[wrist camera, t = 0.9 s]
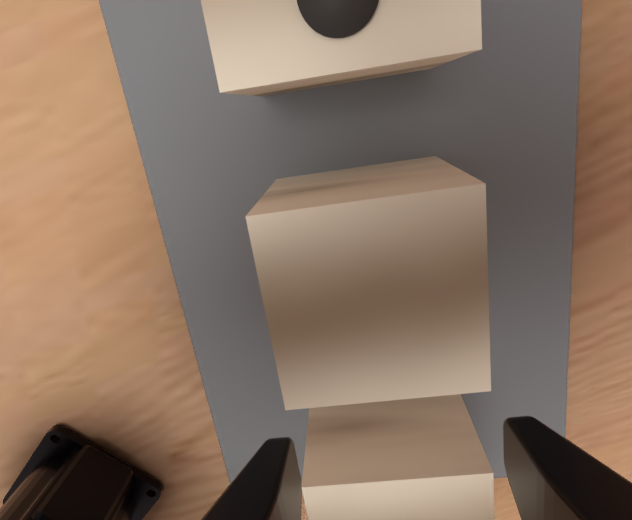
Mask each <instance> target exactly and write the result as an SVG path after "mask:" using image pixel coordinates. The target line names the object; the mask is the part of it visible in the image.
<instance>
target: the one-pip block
mask: <svg viewBox="0 0 632 520" xmlns="http://www.w3.org/2000/svg"><path fill="white" fill-rule="evenodd" d="M302 493H303V498H304V503H305V507H306V512H307V517H308V520H495V516H494V478H493V471H492V468H491V466H490V464H489V461H488V459H487V456H486V454H485V452H484V449H483V447H482V444H481V442H480V440H479V437H478V435H477V432H476V430H475V428H474V425H473V423H472V420H471V418H470V416H469V413H468V411H467V408H466V406H465V404H464V401H463V399H462V396H461V394H456V395H445V396H434V397H423V398H413V399H402V400H391V401H381V402H370V403H359V404H348V405H338V406H327V407H316V408H309V416H308V426H307V436H306V446H305V456H304V466H303V476H302Z"/></svg>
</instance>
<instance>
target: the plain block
mask: <svg viewBox="0 0 632 520" xmlns="http://www.w3.org/2000/svg"><path fill="white" fill-rule="evenodd" d="M245 217H246V222H247V227H248V232H249V237H250V241H251V246H252V251H253V256H254V261H255V266H256V270H257V275H258V280H259V285H260V290H261V295H262V299H263V304H264V309H265V314H266V319H267V324H268V329H269V333H270V338H271V343H272V348H273V353H274V358H275V362H276V367H277V372H278V377H279V382H280V387H281V391H282V396H283V401H284V406H285V410H295V409H305V408H316V407H327V406H338V405H348V404H359V403H370V402H381V401H391V400H402V399H413V398H423V397H434V396H445V395H456V394H466V393H477V392H488V391H491V365H490V327H489V290H488V252H487V215H486V183H484V182H482V181H480V180H479V179H477V178H475V177H473V176H471V175H469V174H468V173H466V172H464V171H462V170H460V169H458V168H457V167H455V166H453V165H451V164H449V163H448V162H446V161H444V160H442V159H440V158H438V157H437V156H432V157H425V158H418V159H411V160H404V161H397V162H390V163H383V164H376V165H369V166H362V167H355V168H349V169H342V170H335V171H328V172H321V173H314V174H307V175H300V176H293V177H286V178H279V179H276V180H275V182H274V183H273V184H272V185H271V186H270V187H269V189H268V190H267V191H266V192H265V193H264V195H263V196H262V197H261V198H260V199H259V201H258V202H257V203H256V204H255V205H254V207H253V208H252V209H251V210H250V211H249V213H248V214H247V215H246V216H245Z"/></svg>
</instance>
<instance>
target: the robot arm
mask: <svg viewBox="0 0 632 520" xmlns="http://www.w3.org/2000/svg"><path fill="white" fill-rule="evenodd" d="M503 451H504V466H505V471H506V475H507V478H508V481H509V484H510V487H511V490H512V493H513V496H514V499H515V502H516V504H517V507H518V510H519V513H520V516H521V519H522V520H632V483H631V482H630V481H628V480H627V479H625V478H624V477H622V476H621V475H619V474H618V473H616V472H615V471H613V470H612V469H610V468H609V467H607V466H606V465H605V464H603V463H602V462H600V461H599V460H597V459H596V458H594V457H593V456H591V455H590V454H588V453H587V452H585V451H584V450H582V449H581V448H579V447H578V446H576V445H575V444H573V443H572V442H570V441H569V440H567V439H566V438H564V437H563V436H561V435H560V434H558V433H557V432H555V431H554V430H552V429H551V428H549V427H548V426H546V425H545V424H544V423H542V422H541V421H539V420H538V419H536V418H534V417H532V416H520V417H509V418H507V419H505V420H504V424H503ZM162 491H163V485H162V484H161V483H160V482H159V481H157V480H155V479H154V478H152V477H150V476H148V475H147V474H145V473H143V472H141V471H140V470H138V469H136V468H135V467H133V466H131V465H129V464H128V463H126V462H124V461H122V460H121V459H119V458H117V457H115V456H114V455H112V454H110V453H108V452H107V451H105V450H103V449H101V448H100V447H98V446H96V445H95V444H93V443H91V442H89V441H88V440H86V439H84V438H82V437H81V436H79V435H77V434H75V433H74V432H72V431H70V430H68V429H67V428H65V427H63V426H59V425H56V426H53V427H52V428H51V429H50V430H49V431H48V432H47V434H46V435H45V437H44V438H43V440H42V441H41V443H40V444H39V446H38V447H37V449H36V450H35V452H34V453H33V455H32V456H31V458H30V460H29V461H28V463H27V464H26V466H25V467H24V469H23V470H22V472H21V473H20V475H19V476H18V478H17V479H16V481H15V482H14V484H13V486H12V487H11V489H10V490H9V492H8V493H7V495H6V496H5V498H4V499H3V506H2V507H1V508H0V520H142V518H143V517H144V516H145V515H146V514H147V512H148V511H149V510H150V509H151V507H152V506H153V505H154V504H155V503H156V501H157V500H158V499H159V498H160V495H161V493H162ZM301 502H302V485H301V476H300V471H299V466H298V461H297V456H296V451H295V446H294V442H293V440H292V439H291V438H290V437H281V438H270V439H268V440H266V441H265V442H264V443H263V444H262V446H261V447H260V448H259V449H258V450H257V452H256V453H255V454H254V455H253V457H252V458H251V459H250V460H249V462H248V463H247V464H246V465H245V466H244V468H243V469H242V470H241V471H240V473H239V474H238V475H237V476H236V478H235V479H234V480H233V481H232V482H231V484H230V485H229V486H228V487H227V489H226V490H225V491H224V492H223V494H222V495H221V496H220V497H219V498H218V500H217V501H216V502H215V503H214V505H213V506H212V507H211V508H210V509H209V511H208V512H207V513H206V514H205V516H204V517H203V518H202V519H201V520H301Z"/></svg>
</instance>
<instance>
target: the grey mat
mask: <svg viewBox="0 0 632 520" xmlns="http://www.w3.org/2000/svg"><path fill="white" fill-rule="evenodd" d="M99 3H100V7H101V10H102V14H103V18H104V21H105V25H106V29H107V32H108V36H109V40H110V43H111V47H112V51H113V54H114V58H115V62H116V65H117V69H118V73H119V76H120V80H121V84H122V87H123V91H124V95H125V98H126V102H127V106H128V109H129V113H130V117H131V120H132V124H133V128H134V131H135V135H136V139H137V142H138V146H139V150H140V154H141V157H142V161H143V165H144V168H145V172H146V176H147V179H148V183H149V187H150V190H151V194H152V198H153V201H154V205H155V209H156V212H157V216H158V220H159V223H160V227H161V231H162V234H163V238H164V242H165V245H166V249H167V253H168V256H169V260H170V264H171V267H172V271H173V275H174V278H175V282H176V286H177V289H178V293H179V297H180V300H181V304H182V308H183V311H184V315H185V319H186V322H187V326H188V330H189V333H190V337H191V341H192V344H193V348H194V352H195V355H196V359H197V363H198V366H199V370H200V374H201V377H202V381H203V385H204V389H205V392H206V396H207V400H208V403H209V407H210V411H211V414H212V418H213V422H214V425H215V429H216V433H217V436H218V440H219V444H220V447H221V451H222V455H223V458H224V462H225V466H226V469H227V473H228V477H229V480H230V484H231V482H232V481H233V480H234V479H235V478H236V476H237V475H238V474H239V473H240V471H241V470H242V469H243V468H244V466H245V465H246V464H247V463H248V462H249V460H250V459H251V458H252V457H253V455H254V454H255V453H256V452H257V450H258V449H259V448H260V447H261V446H262V444H263V443H264V442H265V441H266V440H268V439H270V438H281V437H290V438H291V439H292V440H293V442H294V446H295V451H296V456H297V461H298V466H299V471H300V476H301V485H302V476H303V466H304V456H305V446H306V436H307V426H308V416H309V408H305V409H295V410H285V406H284V401H283V396H282V391H281V387H280V382H279V377H278V372H277V367H276V362H275V358H274V353H273V348H272V343H271V338H270V333H269V329H268V324H267V319H266V314H265V309H264V304H263V299H262V295H261V290H260V285H259V280H258V275H257V270H256V266H255V261H254V256H253V251H252V246H251V241H250V237H249V232H248V227H247V222H246V217H245V216H246V215H247V214H248V213H249V211H250V210H251V209H252V208H253V207H254V205H255V204H256V203H257V202H258V201H259V199H260V198H261V197H262V196H263V195H264V193H265V192H266V191H267V190H268V189H269V187H270V186H271V185H272V184H273V183H274V182H275V180H276V179H279V178H286V177H293V176H300V175H307V174H314V173H321V172H328V171H335V170H342V169H349V168H355V167H362V166H369V165H376V164H383V163H390V162H397V161H404V160H411V159H418V158H425V157H432V156H437V157H438V158H440V159H442V160H444V161H446V162H448V163H449V164H451V165H453V166H455V167H457V168H458V169H460V170H462V171H464V172H466V173H468V174H469V175H471V176H473V177H475V178H477V179H479V180H480V181H482V182H484V183H486V215H487V252H488V290H489V327H490V365H491V391H488V392H477V393H466V394H461V396H462V399H463V401H464V404H465V406H466V408H467V411H468V413H469V416H470V418H471V420H472V423H473V425H474V428H475V430H476V432H477V435H478V437H479V440H480V442H481V444H482V447H483V449H484V452H485V454H486V456H487V459H488V461H489V464H490V466H491V468H492V471H493V478H503V477H507V475H506V471H505V466H504V451H503V424H504V420H505V419H507V418H509V417H520V416H532V417H534V418H536V419H538V420H539V421H541V422H542V423H544V424H545V425H546V426H548V427H549V428H551V429H552V430H554V431H555V432H557V433H558V434H560V435H561V436H563V437H564V438H565V427H566V401H567V375H568V349H569V323H570V297H571V271H572V245H573V219H574V193H575V167H576V141H577V115H578V89H579V63H580V37H581V11H582V0H481V26H482V49H481V50H479V51H476V52H474V53H471V54H468V55H466V56H463V57H460V58H458V59H455V60H453V61H450V62H447V63H445V64H442V65H439V66H437V67H434V68H432V69H427V70H421V71H415V72H409V73H403V74H397V75H390V76H384V77H378V78H372V79H366V80H360V81H354V82H348V83H342V84H335V85H329V86H323V87H317V88H311V89H305V90H299V91H293V92H286V93H280V94H274V95H268V96H251V95H239V94H228V93H220V92H219V87H218V82H217V77H216V72H215V67H214V63H213V58H212V53H211V48H210V43H209V38H208V34H207V29H206V24H205V19H204V14H203V9H202V5H201V0H99Z"/></svg>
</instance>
